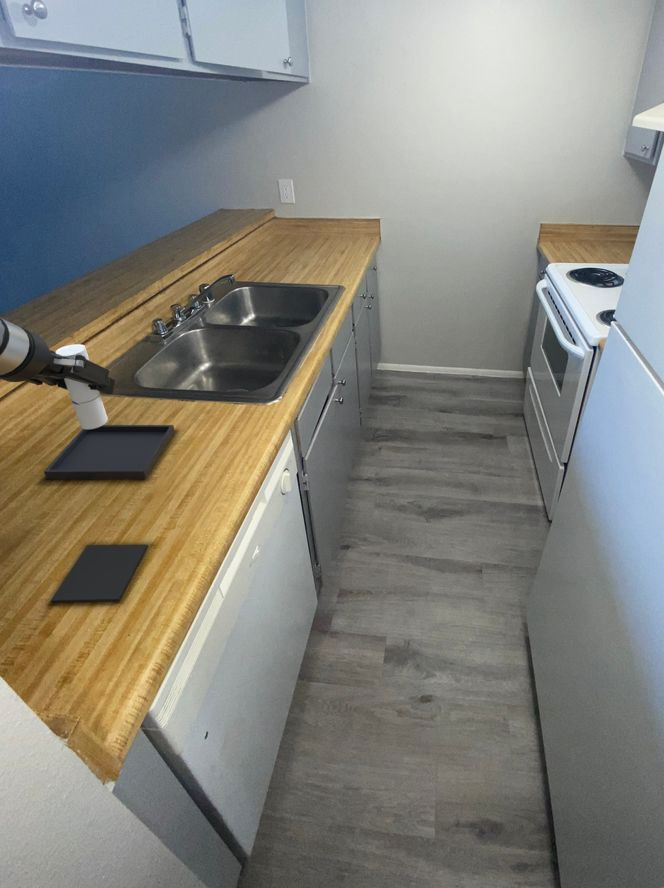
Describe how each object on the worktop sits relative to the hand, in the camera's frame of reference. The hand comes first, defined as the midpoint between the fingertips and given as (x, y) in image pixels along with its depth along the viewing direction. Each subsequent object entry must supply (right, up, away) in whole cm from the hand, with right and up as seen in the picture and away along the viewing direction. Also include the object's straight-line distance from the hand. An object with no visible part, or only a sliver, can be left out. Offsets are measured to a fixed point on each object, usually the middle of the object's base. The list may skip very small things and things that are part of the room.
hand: (97, 387), depth 87 cm
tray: (-5, -16, +14) cm, 21 cm away
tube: (0, -7, -1) cm, 7 cm away
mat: (+8, -29, -11) cm, 32 cm away
